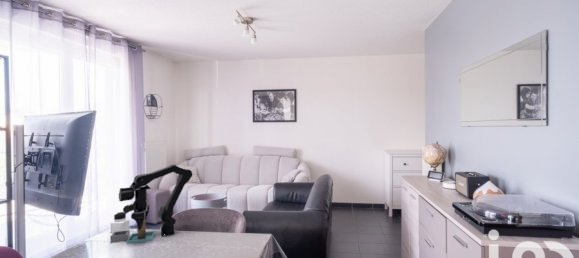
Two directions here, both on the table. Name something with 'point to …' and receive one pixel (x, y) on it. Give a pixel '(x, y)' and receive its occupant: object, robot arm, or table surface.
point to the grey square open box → (120, 236)
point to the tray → (134, 239)
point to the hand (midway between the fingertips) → (141, 226)
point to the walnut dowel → (142, 231)
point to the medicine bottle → (119, 222)
